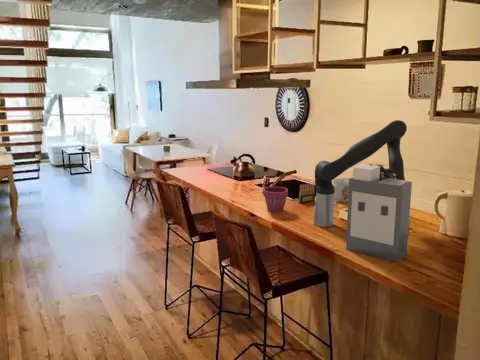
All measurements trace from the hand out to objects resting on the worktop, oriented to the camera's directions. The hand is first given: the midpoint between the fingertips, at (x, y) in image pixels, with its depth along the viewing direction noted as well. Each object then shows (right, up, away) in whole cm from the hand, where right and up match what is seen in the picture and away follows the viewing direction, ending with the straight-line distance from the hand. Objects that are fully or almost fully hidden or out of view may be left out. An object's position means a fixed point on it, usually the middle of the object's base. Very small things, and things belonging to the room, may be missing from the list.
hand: (374, 166), depth 187 cm
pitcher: (+3, -19, +78) cm, 80 cm away
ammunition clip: (-18, -20, +77) cm, 82 cm away
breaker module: (-2, -4, -1) cm, 5 cm away
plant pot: (-38, -24, +61) cm, 76 cm away
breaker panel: (0, -37, -2) cm, 37 cm away
